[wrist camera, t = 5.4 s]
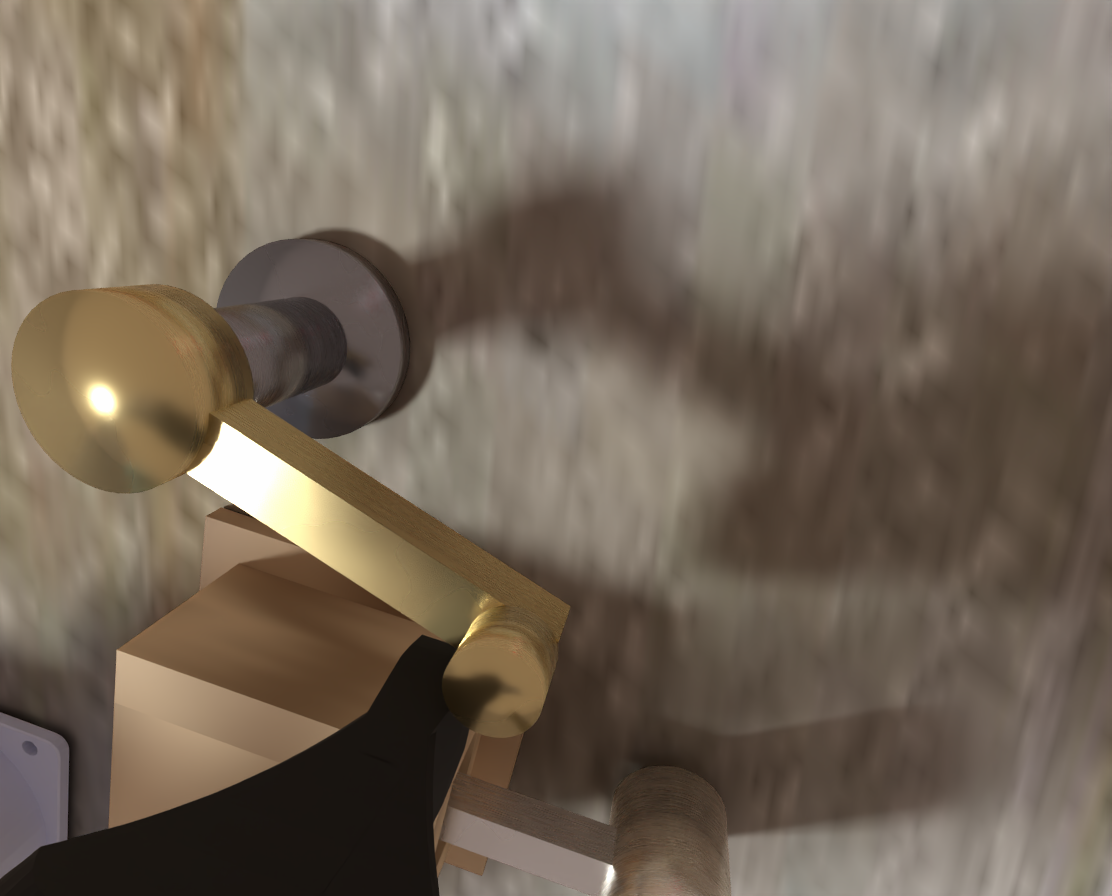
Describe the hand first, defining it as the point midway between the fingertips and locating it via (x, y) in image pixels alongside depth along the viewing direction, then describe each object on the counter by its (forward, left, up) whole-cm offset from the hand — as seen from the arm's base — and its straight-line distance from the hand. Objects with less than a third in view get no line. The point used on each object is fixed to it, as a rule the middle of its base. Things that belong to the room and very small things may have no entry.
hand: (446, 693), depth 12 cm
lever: (-3, +3, 0) cm, 4 cm away
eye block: (-3, -5, -5) cm, 8 cm away
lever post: (-6, +4, -5) cm, 8 cm away
